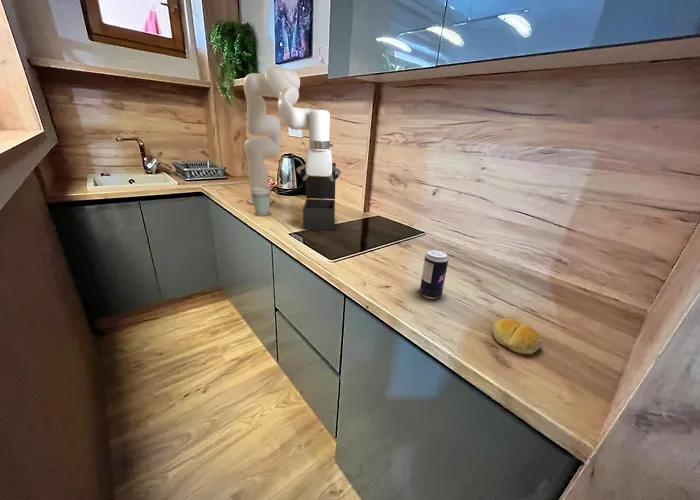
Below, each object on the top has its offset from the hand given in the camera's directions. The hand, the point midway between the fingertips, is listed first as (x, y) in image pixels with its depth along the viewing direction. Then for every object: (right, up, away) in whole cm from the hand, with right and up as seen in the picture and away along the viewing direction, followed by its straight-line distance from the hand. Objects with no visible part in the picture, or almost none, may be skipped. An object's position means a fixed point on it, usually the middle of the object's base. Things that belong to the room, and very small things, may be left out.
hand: (318, 190), depth 121 cm
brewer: (-1, -12, +9) cm, 16 cm away
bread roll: (+47, -43, -57) cm, 86 cm away
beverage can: (+34, -36, -41) cm, 64 cm away
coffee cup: (-28, -7, +19) cm, 35 cm away
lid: (0, +5, +8) cm, 9 cm away
